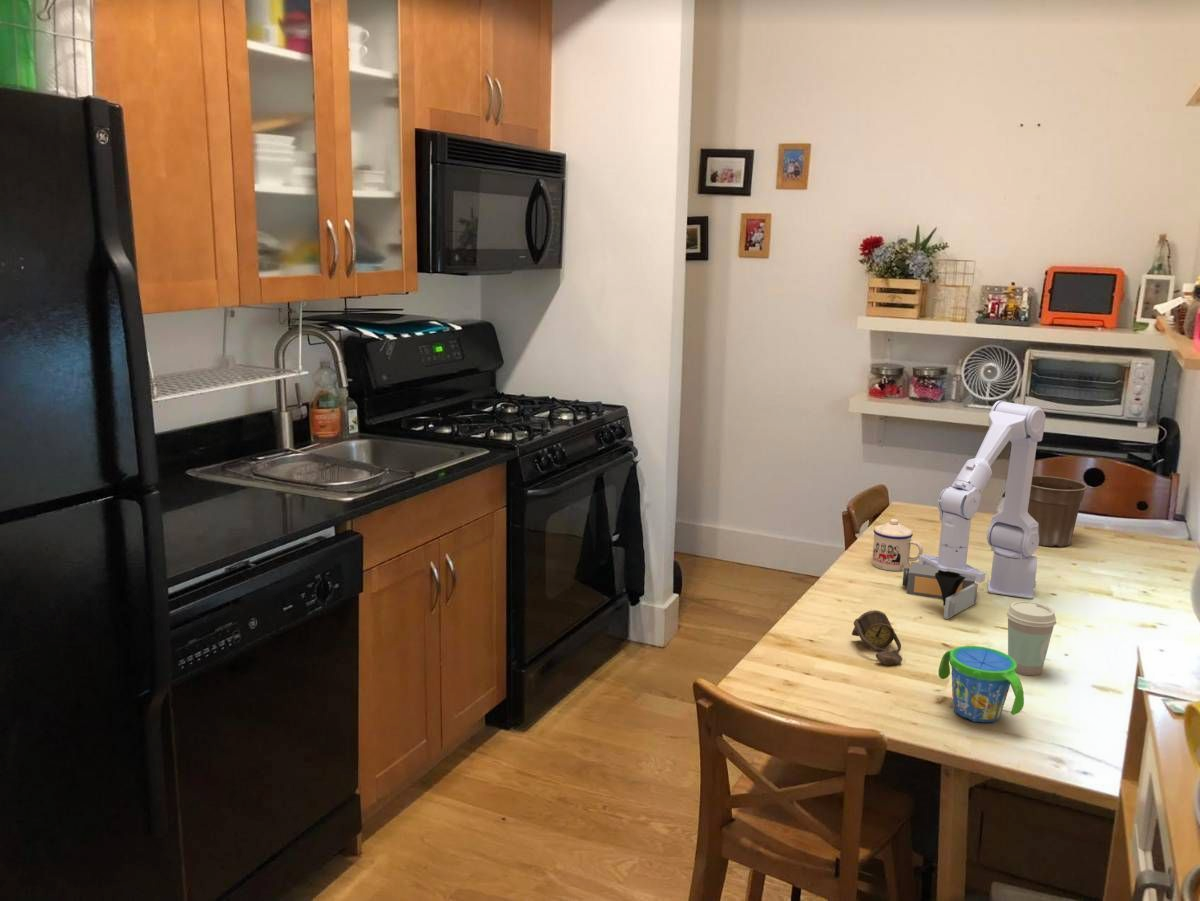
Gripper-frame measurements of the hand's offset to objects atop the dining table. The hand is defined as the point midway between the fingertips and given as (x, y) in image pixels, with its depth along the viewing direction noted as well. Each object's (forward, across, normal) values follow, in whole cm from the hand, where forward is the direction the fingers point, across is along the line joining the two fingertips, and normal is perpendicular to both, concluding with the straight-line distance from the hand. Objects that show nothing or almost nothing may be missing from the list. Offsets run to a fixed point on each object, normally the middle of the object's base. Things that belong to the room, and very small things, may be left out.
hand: (947, 604), depth 212 cm
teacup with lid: (+2, -24, +17) cm, 30 cm away
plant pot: (+2, -14, +69) cm, 70 cm away
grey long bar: (+2, +2, +3) cm, 4 cm away
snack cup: (+2, +29, -37) cm, 47 cm away
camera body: (+2, -8, +10) cm, 13 cm away
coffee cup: (+2, +25, -13) cm, 28 cm away
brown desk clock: (+2, +3, -30) cm, 30 cm away
